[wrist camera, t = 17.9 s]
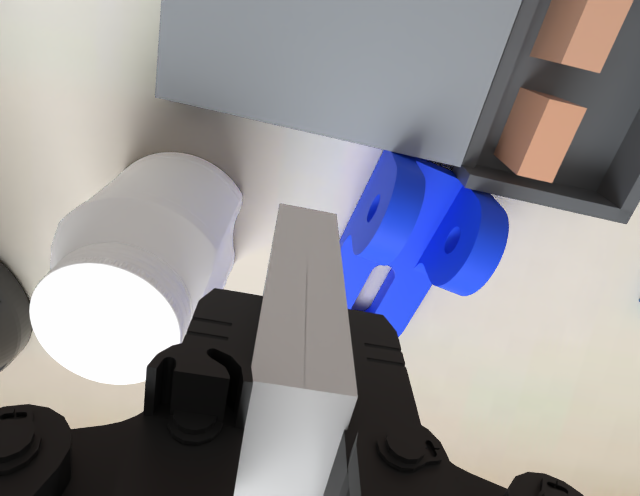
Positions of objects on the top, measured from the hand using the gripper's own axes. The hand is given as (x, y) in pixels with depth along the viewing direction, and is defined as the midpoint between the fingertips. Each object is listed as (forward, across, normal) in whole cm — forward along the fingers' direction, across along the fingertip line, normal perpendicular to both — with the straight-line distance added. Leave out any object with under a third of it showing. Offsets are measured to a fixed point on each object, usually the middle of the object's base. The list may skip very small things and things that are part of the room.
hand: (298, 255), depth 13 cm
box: (+24, +18, +5) cm, 31 cm away
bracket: (+25, +9, -12) cm, 29 cm away
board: (+25, +1, +5) cm, 25 cm away
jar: (+25, -8, -12) cm, 29 cm away
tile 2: (+21, +14, +9) cm, 27 cm away
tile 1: (+21, +14, +2) cm, 26 cm away
